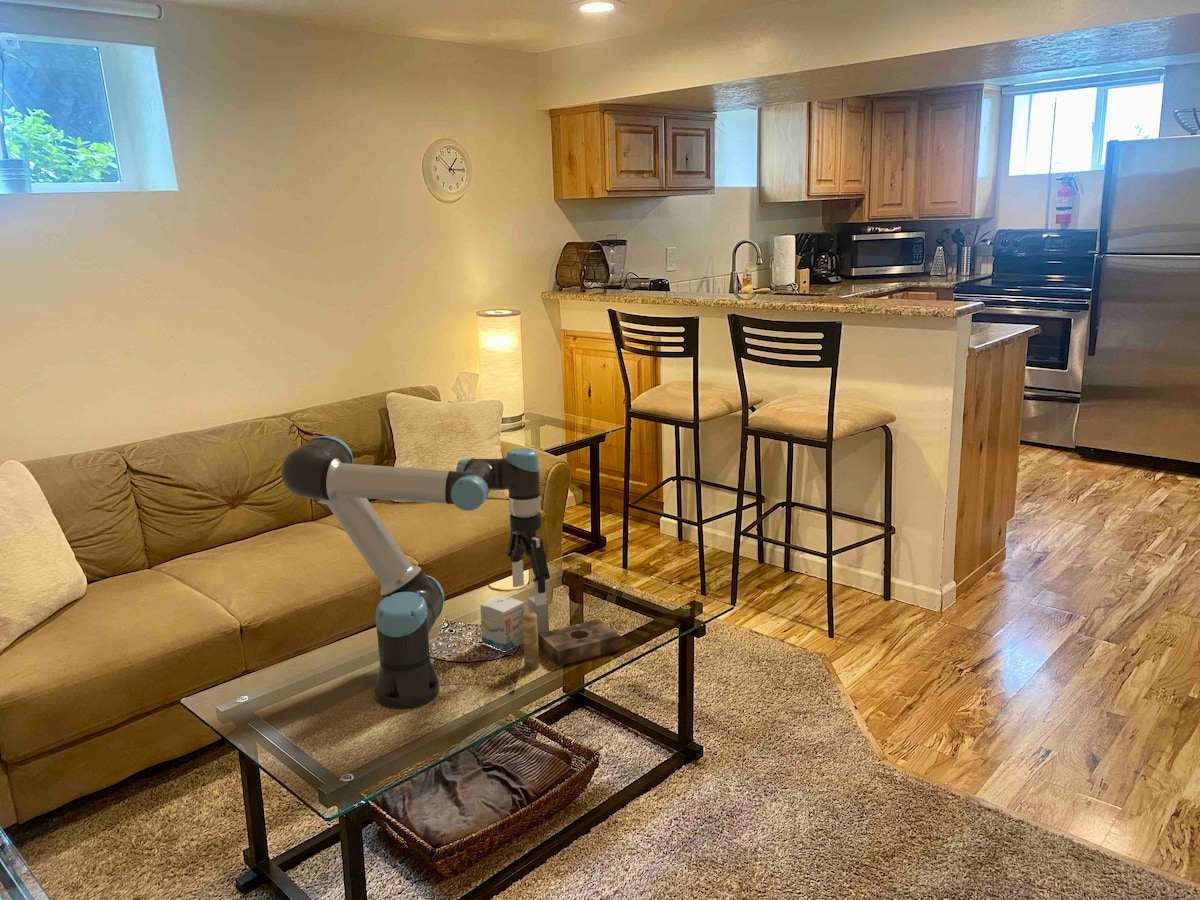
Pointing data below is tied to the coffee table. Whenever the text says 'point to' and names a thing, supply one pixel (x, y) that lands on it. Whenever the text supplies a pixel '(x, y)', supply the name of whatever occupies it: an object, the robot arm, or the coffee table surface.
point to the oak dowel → (530, 641)
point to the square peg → (540, 615)
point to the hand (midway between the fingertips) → (529, 595)
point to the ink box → (502, 622)
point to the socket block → (579, 642)
